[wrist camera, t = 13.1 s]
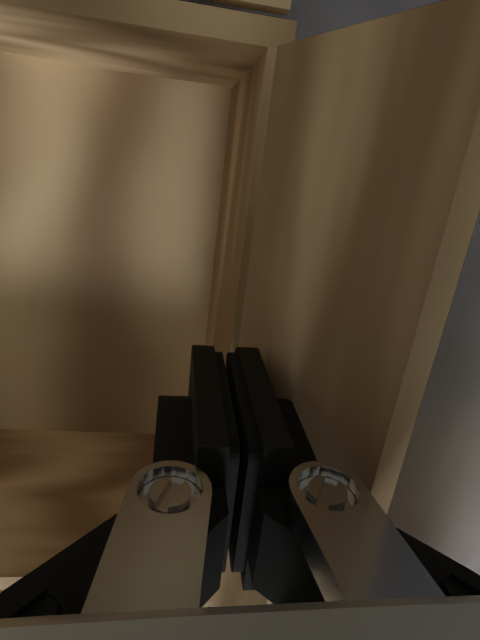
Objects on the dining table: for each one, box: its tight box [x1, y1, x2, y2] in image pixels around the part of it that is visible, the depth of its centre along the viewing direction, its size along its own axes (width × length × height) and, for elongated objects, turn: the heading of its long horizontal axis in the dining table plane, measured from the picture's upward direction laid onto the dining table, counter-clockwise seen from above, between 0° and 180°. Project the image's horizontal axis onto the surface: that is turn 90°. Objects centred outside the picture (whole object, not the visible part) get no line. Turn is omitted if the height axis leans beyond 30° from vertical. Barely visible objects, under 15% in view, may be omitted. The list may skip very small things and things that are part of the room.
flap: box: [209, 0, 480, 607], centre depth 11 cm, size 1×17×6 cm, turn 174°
